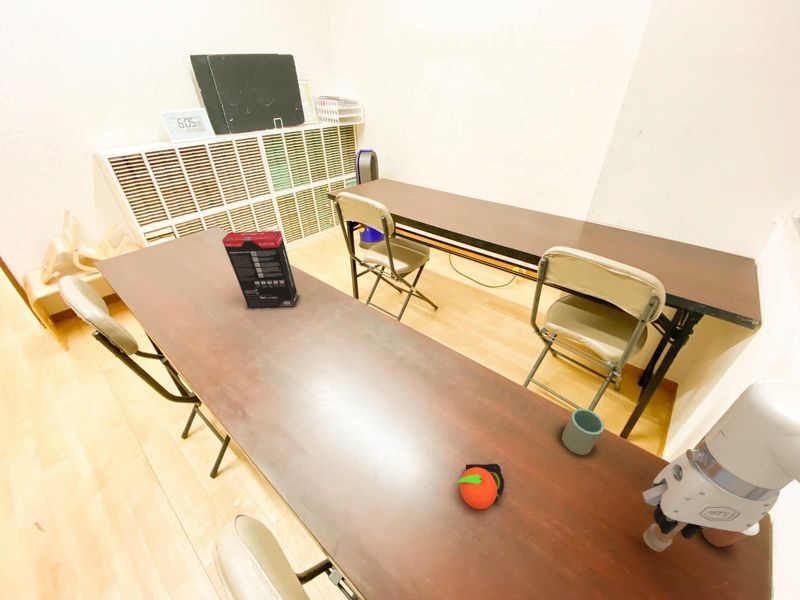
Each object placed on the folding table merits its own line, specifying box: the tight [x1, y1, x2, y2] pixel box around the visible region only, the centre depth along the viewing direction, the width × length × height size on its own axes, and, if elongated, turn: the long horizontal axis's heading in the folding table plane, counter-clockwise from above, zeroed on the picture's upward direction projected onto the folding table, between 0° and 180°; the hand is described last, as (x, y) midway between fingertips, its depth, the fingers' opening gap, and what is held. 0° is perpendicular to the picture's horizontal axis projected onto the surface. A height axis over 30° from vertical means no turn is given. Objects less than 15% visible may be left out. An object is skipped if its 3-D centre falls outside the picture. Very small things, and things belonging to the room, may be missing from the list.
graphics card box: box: [221, 230, 299, 309], centre depth 109 cm, size 17×7×27 cm, turn 92°
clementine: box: [454, 467, 497, 510], centre depth 61 cm, size 8×7×7 cm
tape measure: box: [465, 463, 505, 502], centre depth 64 cm, size 7×7×4 cm
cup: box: [561, 408, 605, 456], centre depth 69 cm, size 6×6×8 cm
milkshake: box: [701, 521, 760, 548], centre depth 54 cm, size 5×5×10 cm
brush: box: [642, 521, 689, 553], centre depth 51 cm, size 3×3×12 cm
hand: (670, 525), depth 50 cm, fingers closed on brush, 2 cm apart
